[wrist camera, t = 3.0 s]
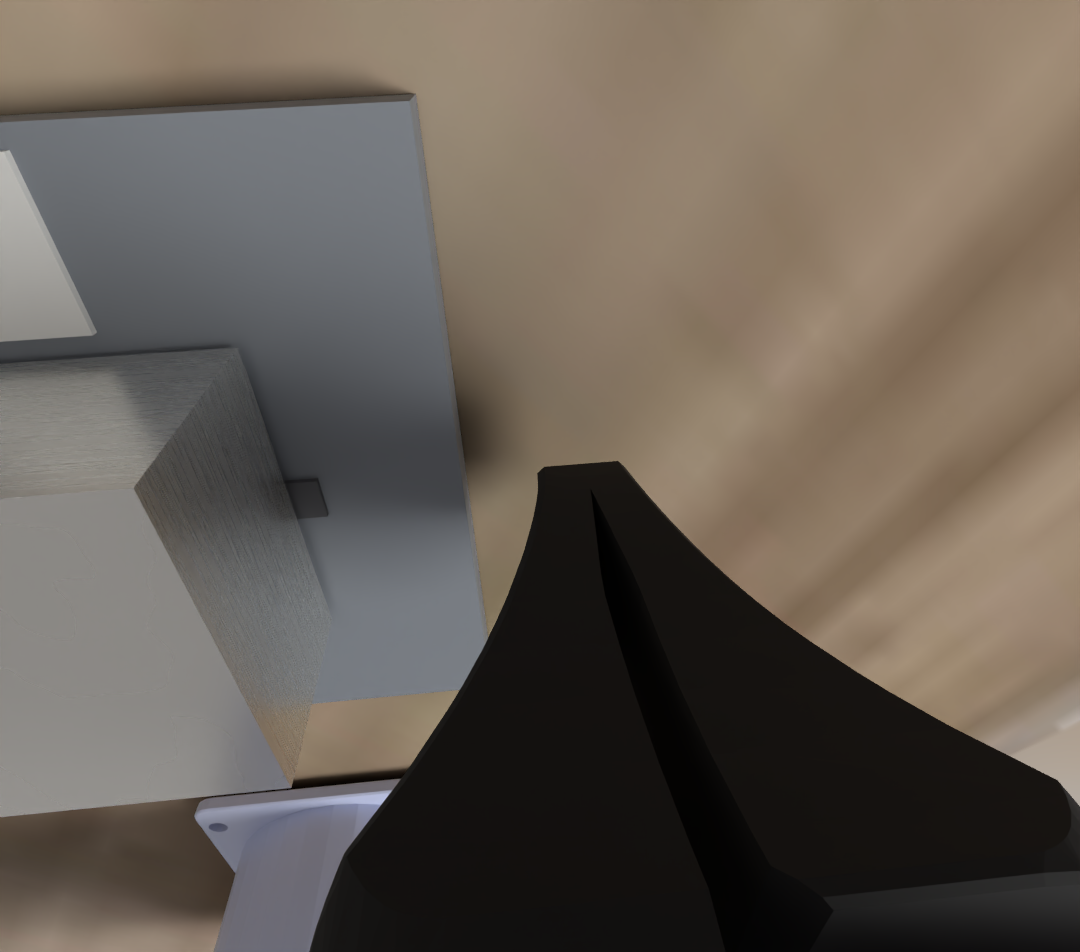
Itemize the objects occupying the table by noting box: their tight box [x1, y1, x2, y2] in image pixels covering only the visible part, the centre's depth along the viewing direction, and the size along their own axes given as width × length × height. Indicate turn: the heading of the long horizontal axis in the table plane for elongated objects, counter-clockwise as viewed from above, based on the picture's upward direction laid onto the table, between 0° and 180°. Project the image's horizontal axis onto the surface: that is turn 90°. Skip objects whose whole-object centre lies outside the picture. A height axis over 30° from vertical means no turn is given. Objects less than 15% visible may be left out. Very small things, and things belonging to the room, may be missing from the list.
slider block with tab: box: [0, 347, 332, 817], centre depth 8 cm, size 10×5×4 cm, turn 2°
